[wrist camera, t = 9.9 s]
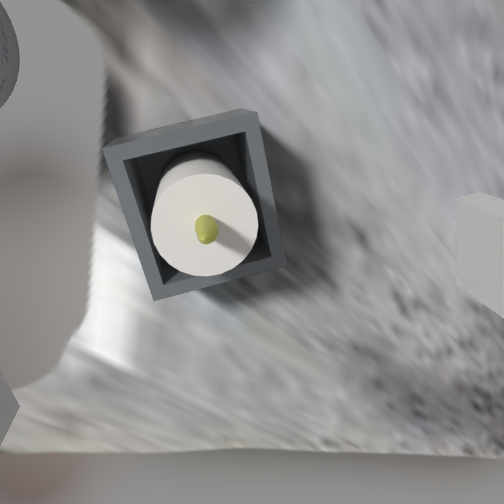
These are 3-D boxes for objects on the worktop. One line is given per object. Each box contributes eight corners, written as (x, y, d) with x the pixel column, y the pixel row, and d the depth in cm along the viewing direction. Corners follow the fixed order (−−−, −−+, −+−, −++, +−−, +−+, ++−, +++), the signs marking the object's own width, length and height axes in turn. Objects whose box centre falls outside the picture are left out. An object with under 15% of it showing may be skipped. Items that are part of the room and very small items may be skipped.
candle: (187, 242, 36) (193, 335, 22) (142, 177, 33) (117, 235, 19) (251, 204, 35) (297, 273, 22) (210, 135, 33) (233, 164, 19)
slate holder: (117, 137, 33) (101, 148, 26) (240, 108, 33) (257, 111, 27) (158, 263, 37) (153, 301, 30) (267, 235, 38) (287, 265, 31)
